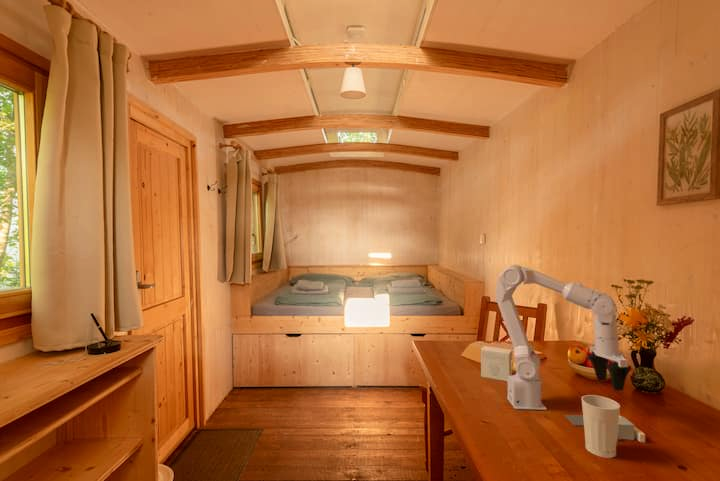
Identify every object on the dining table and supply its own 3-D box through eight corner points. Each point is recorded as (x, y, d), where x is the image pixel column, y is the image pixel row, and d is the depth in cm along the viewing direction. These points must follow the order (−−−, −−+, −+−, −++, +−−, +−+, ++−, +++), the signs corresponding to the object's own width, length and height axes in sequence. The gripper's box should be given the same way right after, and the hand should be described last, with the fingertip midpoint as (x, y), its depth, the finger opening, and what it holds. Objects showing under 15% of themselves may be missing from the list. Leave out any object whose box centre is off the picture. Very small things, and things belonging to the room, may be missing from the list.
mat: (574, 425, 101) (574, 424, 101) (564, 416, 107) (564, 414, 107) (595, 426, 101) (595, 425, 101) (584, 416, 106) (584, 415, 106)
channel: (612, 441, 93) (612, 433, 93) (583, 415, 107) (583, 408, 107) (645, 442, 93) (645, 434, 93) (611, 416, 106) (611, 409, 106)
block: (618, 439, 94) (618, 424, 94) (608, 431, 98) (608, 416, 98) (634, 440, 94) (634, 424, 94) (624, 432, 98) (624, 417, 98)
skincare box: (512, 376, 137) (512, 349, 137) (509, 382, 132) (509, 353, 132) (484, 371, 143) (484, 344, 143) (480, 376, 138) (480, 349, 138)
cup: (574, 442, 93) (574, 395, 93) (603, 440, 94) (603, 394, 94) (597, 460, 85) (597, 410, 85) (628, 459, 86) (628, 408, 86)
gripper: (638, 342, 96) (642, 394, 96) (605, 330, 110) (608, 375, 110) (610, 343, 96) (614, 395, 96) (581, 331, 111) (584, 376, 111)
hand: (609, 384), depth 103 cm, fingers open, 7 cm apart
